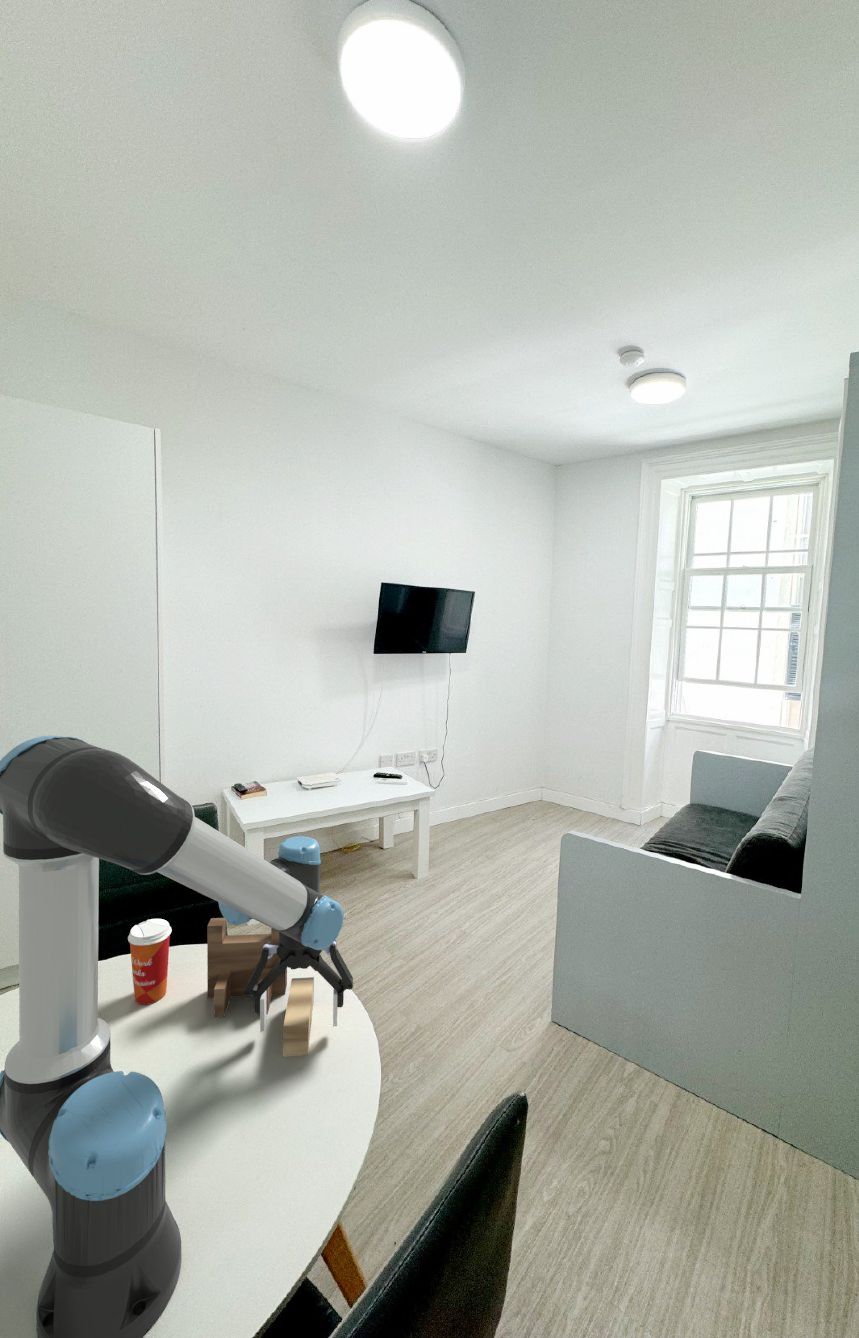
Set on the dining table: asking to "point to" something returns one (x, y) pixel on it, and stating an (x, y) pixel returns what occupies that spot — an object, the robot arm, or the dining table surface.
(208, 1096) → the dining table surface
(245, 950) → the brown notched piece
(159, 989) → the coffee cup
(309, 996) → the tan wooden block
